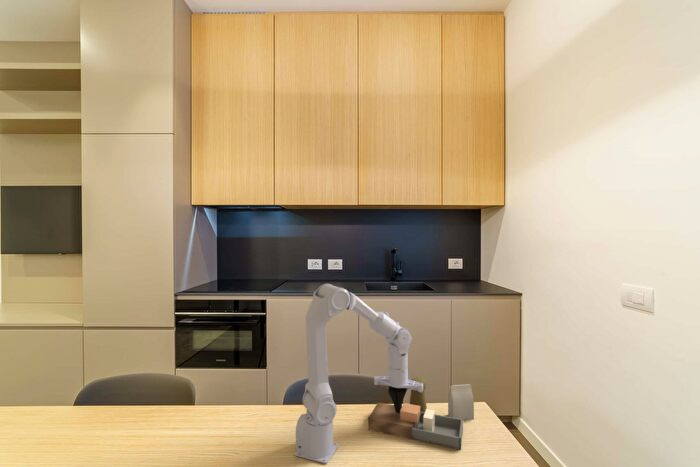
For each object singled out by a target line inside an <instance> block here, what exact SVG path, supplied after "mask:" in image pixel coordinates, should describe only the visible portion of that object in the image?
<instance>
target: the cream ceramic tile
mask: <svg viewBox="0 0 700 467" xmlns="http://www.w3.org/2000/svg"><path fill="white" fill-rule="evenodd" d="M435 414H436V410H435V409H434V410H433V409H429V408H427V409H426V411H425V414H424V417H423V430H426V431H431V432H433V431H434V428H435Z"/></svg>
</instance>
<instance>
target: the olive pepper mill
mask: <svg viewBox="0 0 700 467" xmlns="http://www.w3.org/2000/svg"><path fill="white" fill-rule="evenodd" d="M410 380H413V381H416V382H419V383H423V391H422V392H419V391H416V390H410V397H409V404H412V405H418V406H420V412H425V411H426V409H428V407H427V399H426V393H425V391H426V388H427V382H426V381H425V379H424V378H421V377H416V376H415V377H411V378H410Z"/></svg>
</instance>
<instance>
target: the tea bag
mask: <svg viewBox="0 0 700 467" xmlns="http://www.w3.org/2000/svg"><path fill="white" fill-rule="evenodd" d="M474 401H475V400H474V393H473V390H472V384H470V383H469V384H466V383H465V384H454V385H450V386H449V390H448V395H447V407H448V408H447V412H448V417H453V418H458V419H463V421H469V420H470V421H471V420H474V419H475V402H474Z"/></svg>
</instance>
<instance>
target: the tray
mask: <svg viewBox="0 0 700 467" xmlns="http://www.w3.org/2000/svg"><path fill="white" fill-rule="evenodd" d="M424 414H425V412H420V417H419V420H418V423H415V426H414V428H412V439H411V440H413V441H417V442H418V441H419V442H423V443H427V444H433V445H435V446H436V445H438V446H442V447H446V448H451V449H456V450H460V451H461V450H462V445H463V444H462V442H463V436H464V434H463V432H464V420H463V419H458V418H453V417H450V416H447V415H443V414H442V415H441V414H436V413H435V428H434V431H433V432H431V431H426V430H423V417H424Z"/></svg>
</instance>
